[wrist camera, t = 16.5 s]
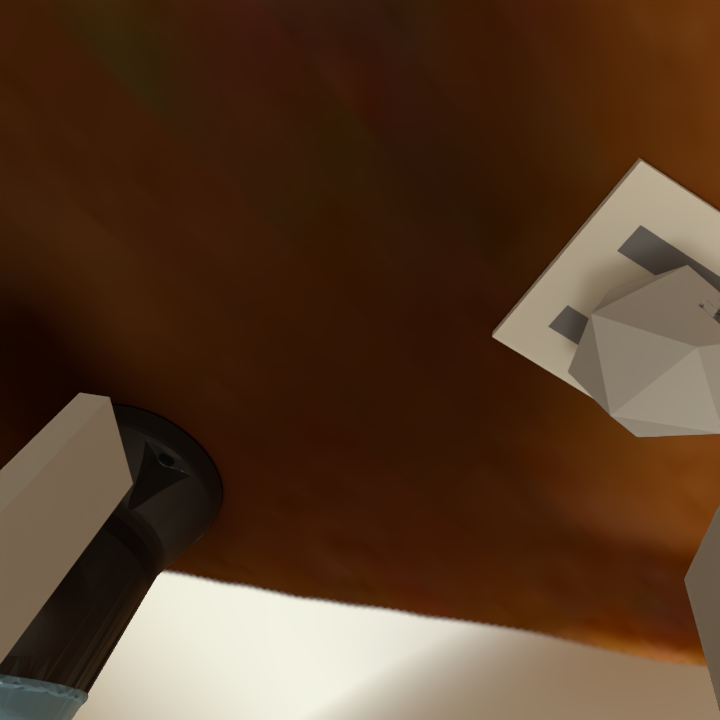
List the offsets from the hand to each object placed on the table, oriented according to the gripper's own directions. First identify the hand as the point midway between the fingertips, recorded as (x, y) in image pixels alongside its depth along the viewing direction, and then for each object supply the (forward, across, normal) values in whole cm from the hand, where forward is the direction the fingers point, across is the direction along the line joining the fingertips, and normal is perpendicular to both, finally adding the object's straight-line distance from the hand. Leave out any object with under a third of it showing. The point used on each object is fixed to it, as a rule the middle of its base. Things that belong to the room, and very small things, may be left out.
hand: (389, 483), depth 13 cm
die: (+25, +12, -8) cm, 28 cm away
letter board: (+25, +12, -8) cm, 29 cm away
